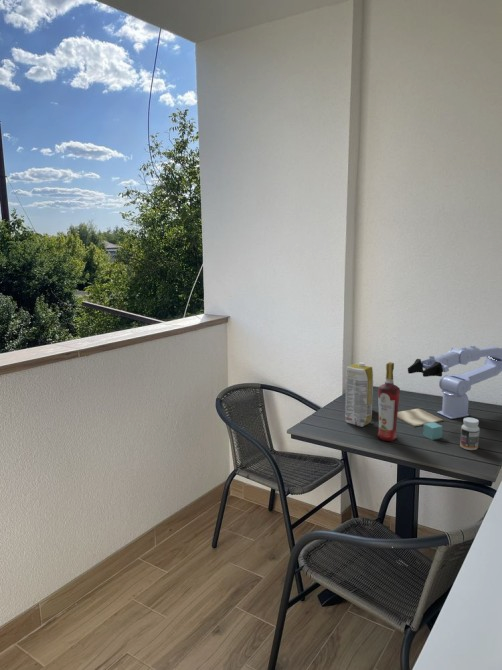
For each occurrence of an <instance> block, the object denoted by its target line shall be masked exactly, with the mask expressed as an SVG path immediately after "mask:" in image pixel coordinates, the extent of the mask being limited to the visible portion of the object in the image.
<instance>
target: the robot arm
mask: <svg viewBox="0 0 502 670" xmlns="http://www.w3.org/2000/svg"><path fill="white" fill-rule="evenodd" d="M488 346H489V347H488ZM488 346H484V347H481V348H479V347H477V346H476V345H470V346H469V347H465V346H462V347H461V348H456V347H454V348H453V347H451V348H449V350H448V351H447V352H445V353H443V354H440V355H437V356H434V355H429V357H428V358H426V359H423V360H422V359H421V358H417V359H415V361H414V362H413V363H412V364H411V365H410V366H408V368H407V373H408V374H415V373H422V376H423V377H424V378H425V377H426V378H427V377H440V378H439V379H440V380H439V381H438V384H439V389H441V392H442V403H441V404H442V406H441V407H442V408H441V410H438V411H436V413H437V414H439V415H441V416H443V417H445V418H448V419H451V420H453V419H458V418H459V419H460V418H465V417H468V416H470V414H469V413H468V411H469V397H468V395H467V392H469V391H471V388H472V386H473V385H475V384H479V383H481V382H482V381H483V382H484V381H486V380H488V379H490V378H493V377H496V376H498V375H499V374H500V373H501V372H502V347H501V348H499V347H500V346H497V347H494V346H495V345H494V346H493V345H488ZM488 356H490V357H492V358H493V359H495V360H492V359H489V358H488ZM481 358H485V359H486V360H485V359H484V364H485V365H482V366H480V367H477V368H474V369H472V370H469V371H467V372H464V373H462V374H450V375H449V374H444V375H443V373H447V372H449V371H450V369H449V368H452V367H455V366H457V365H464V366H467V364H469V363H470V362H476V361H479V360H480V359H481ZM496 360H497V361H496Z"/></svg>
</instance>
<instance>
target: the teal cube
mask: <svg viewBox="0 0 502 670" xmlns="http://www.w3.org/2000/svg"><path fill="white" fill-rule="evenodd" d="M443 427H444V426H443V425H440V424H439V423H438V422H436V423H435V422H431V423H426V424H424V425H423V429H422V430H423V432H422V434H423V436H424V437H426V438H428V439H429V440H431V441H432V440H433V441H434V440H438V439H442V437H443Z"/></svg>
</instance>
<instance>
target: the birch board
mask: <svg viewBox="0 0 502 670" xmlns="http://www.w3.org/2000/svg"><path fill="white" fill-rule="evenodd" d="M397 420H401V421H402V422H404V423H406V424H408V425H410V426H412V427H420V426H424V424H426V423H431V422H435V423H440V422H443V421H444V419H443V418H441V417H438V416H436V415H434V414H432V413H429V412H427V411H425V410H423V409H421V408H414V409H413V408H412V409H407V410H402V411H398V413H397Z"/></svg>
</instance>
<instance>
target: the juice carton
mask: <svg viewBox="0 0 502 670" xmlns="http://www.w3.org/2000/svg"><path fill="white" fill-rule="evenodd" d="M345 370H346V372H345V392H344V393H345V394H344V395H345V401H344V417H345V422H346V423H347V424H351V425H354V426H358V427H361V428H363V427H365V426H367V425H368V424H370V423H371V421H372V416H373V415H372V414H373V398H372V394H373V393H374V369H373V366H369V365H367V366H366V363H365V362H361V361H360V362H358V363H353V364H350V365H347V366H346V369H345Z"/></svg>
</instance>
